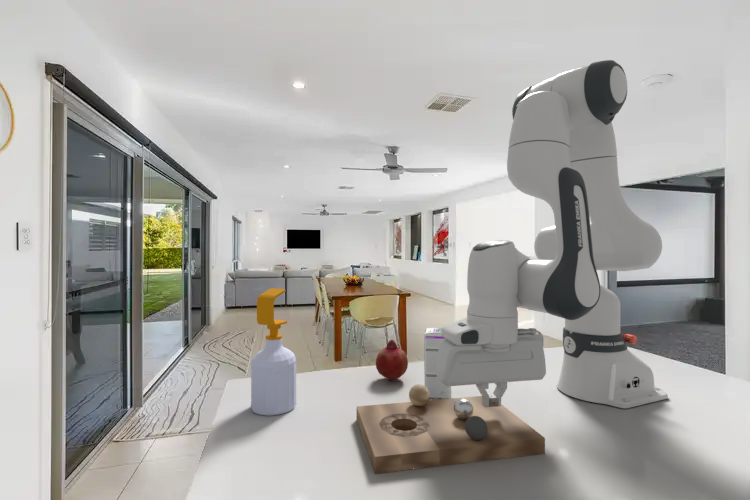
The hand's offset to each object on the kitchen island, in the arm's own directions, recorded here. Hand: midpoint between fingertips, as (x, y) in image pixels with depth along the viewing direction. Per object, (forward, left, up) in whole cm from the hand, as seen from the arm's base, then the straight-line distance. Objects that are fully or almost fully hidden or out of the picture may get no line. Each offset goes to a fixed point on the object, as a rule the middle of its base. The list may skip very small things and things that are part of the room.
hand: (491, 405), depth 69 cm
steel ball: (+5, 0, 0) cm, 5 cm away
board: (+9, 0, -5) cm, 10 cm away
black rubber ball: (+6, +7, 0) cm, 9 cm away
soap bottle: (+39, -18, -5) cm, 44 cm away
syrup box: (+3, -18, -5) cm, 19 cm away
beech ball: (+11, -7, 0) cm, 13 cm away
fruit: (+11, -29, -5) cm, 32 cm away
